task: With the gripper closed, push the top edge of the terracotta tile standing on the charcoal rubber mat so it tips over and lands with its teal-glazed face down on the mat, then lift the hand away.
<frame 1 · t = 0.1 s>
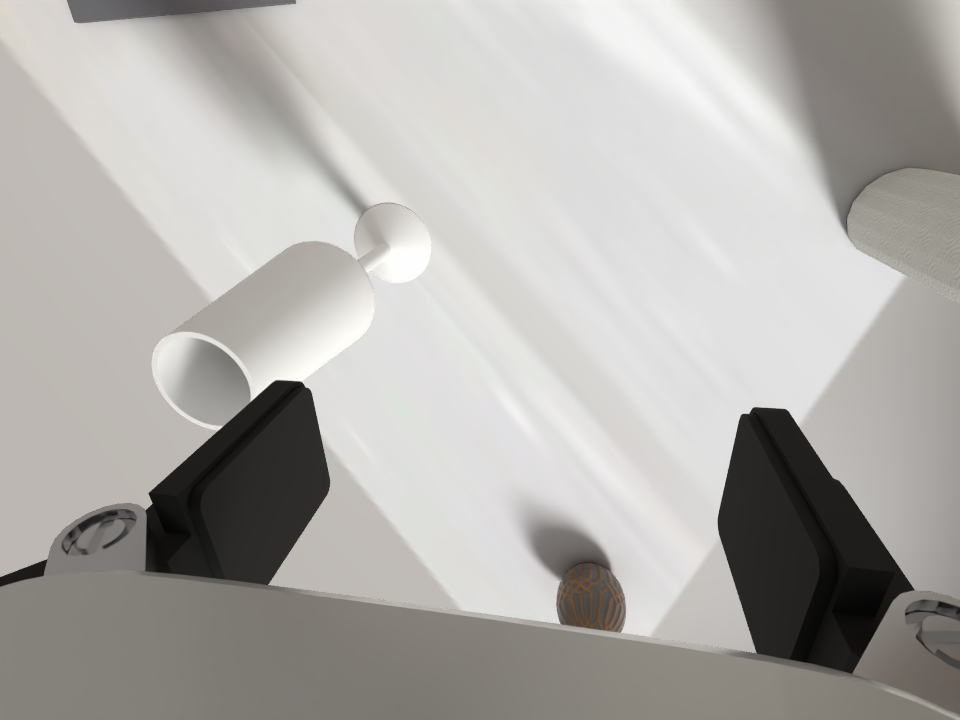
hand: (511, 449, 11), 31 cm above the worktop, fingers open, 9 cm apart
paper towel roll: (901, 215, 35), on the worktop
champagne flute: (393, 243, 43), on the worktop
patterned egg: (590, 574, 55), on the worktop
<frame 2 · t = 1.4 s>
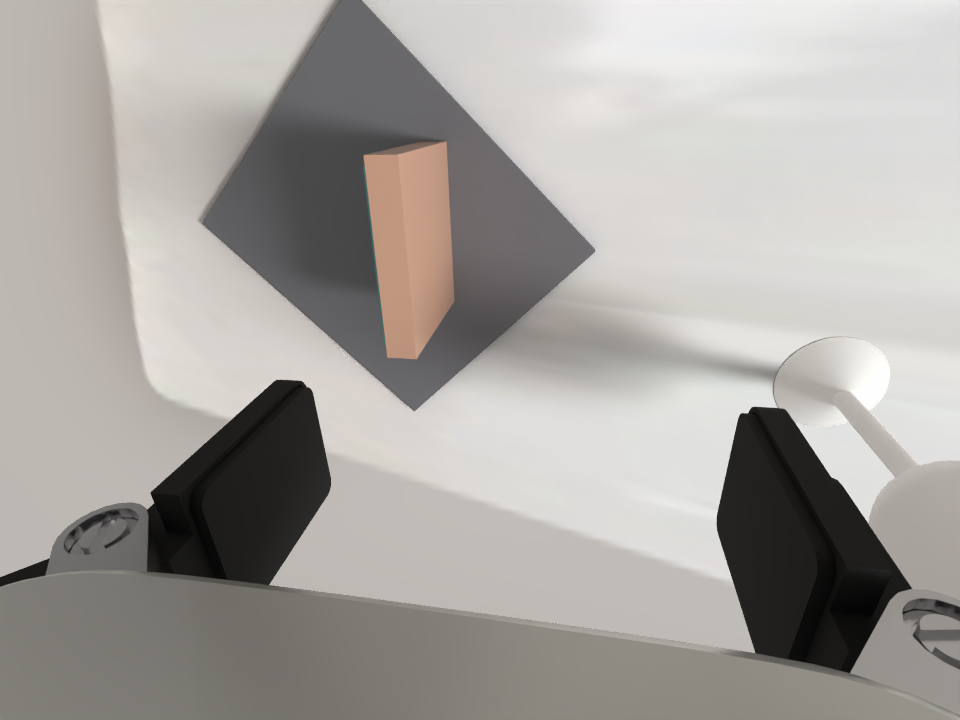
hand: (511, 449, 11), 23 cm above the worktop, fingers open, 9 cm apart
mat: (389, 235, 34), on the worktop
champagne flute: (828, 382, 33), on the worktop
tile: (438, 226, 33), resting on mat
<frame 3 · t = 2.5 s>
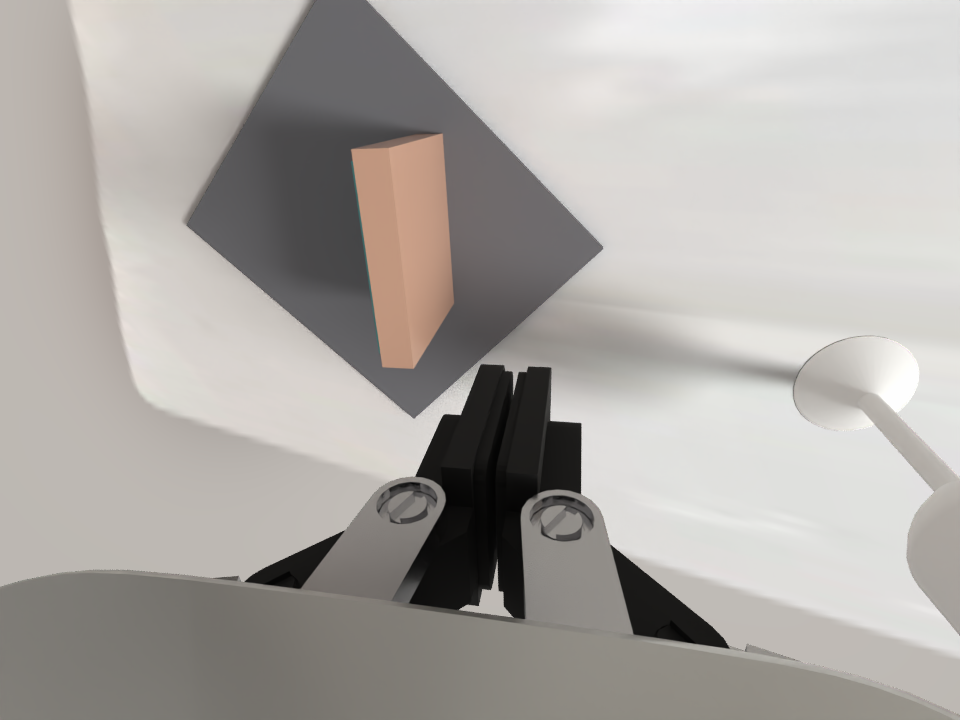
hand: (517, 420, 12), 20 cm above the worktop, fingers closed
mat: (384, 234, 32), on the worktop
champagne flute: (852, 384, 31), on the worktop
tile: (435, 224, 31), resting on mat
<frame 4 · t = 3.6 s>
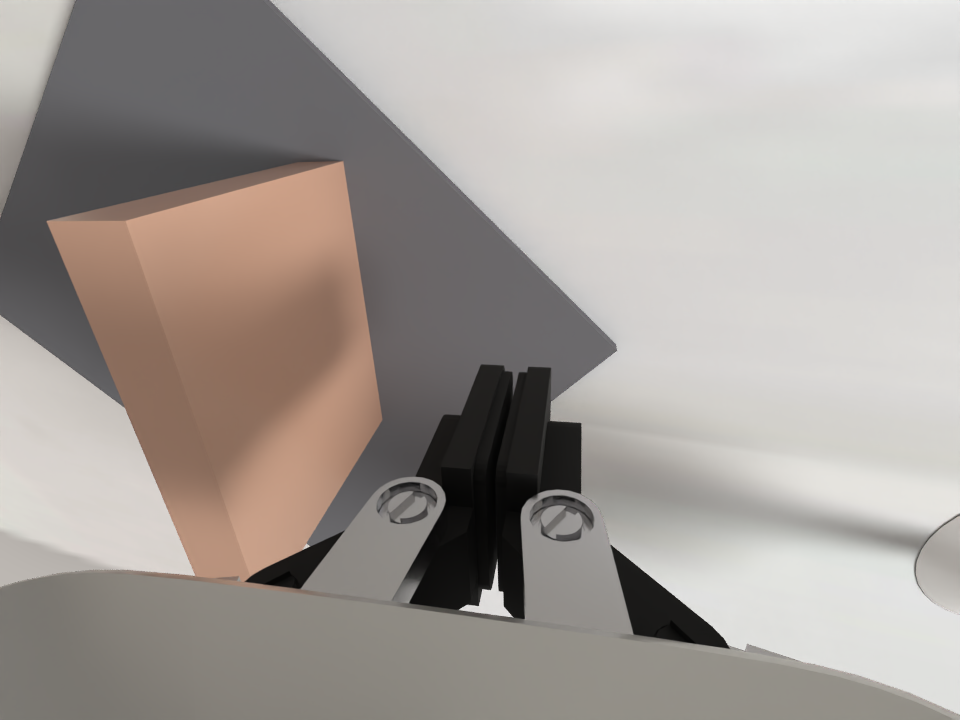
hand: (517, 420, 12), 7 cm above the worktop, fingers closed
mat: (269, 315, 20), on the worktop
tile: (344, 305, 19), resting on mat
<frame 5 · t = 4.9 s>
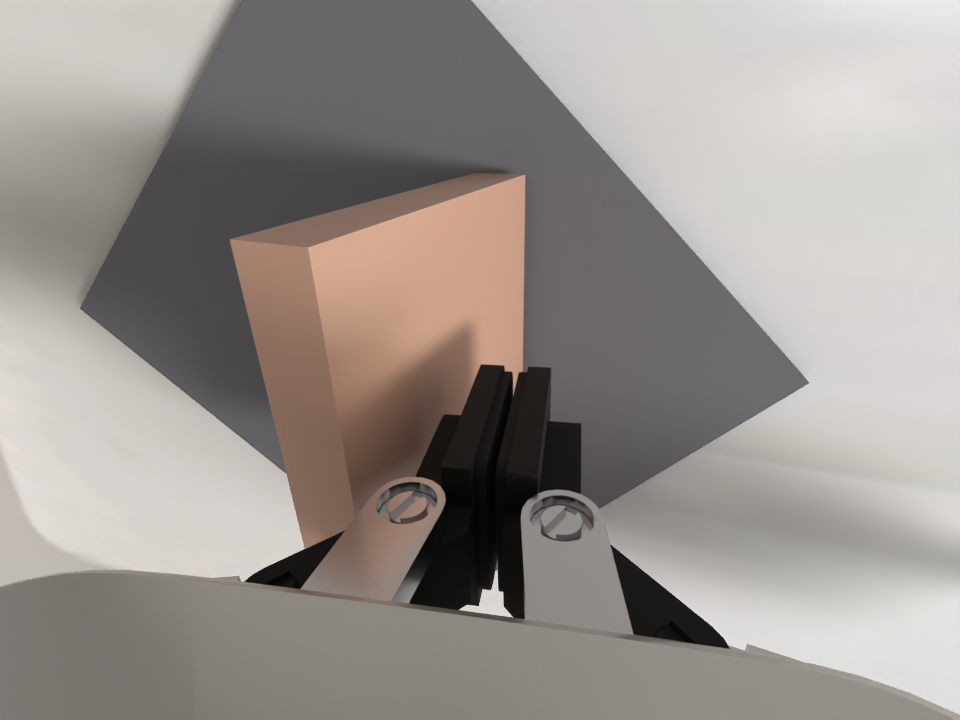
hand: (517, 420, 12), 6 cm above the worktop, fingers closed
mat: (409, 336, 19), on the worktop
tile: (501, 330, 17), point 1 cm above the worktop, tilted 15°, touching mat
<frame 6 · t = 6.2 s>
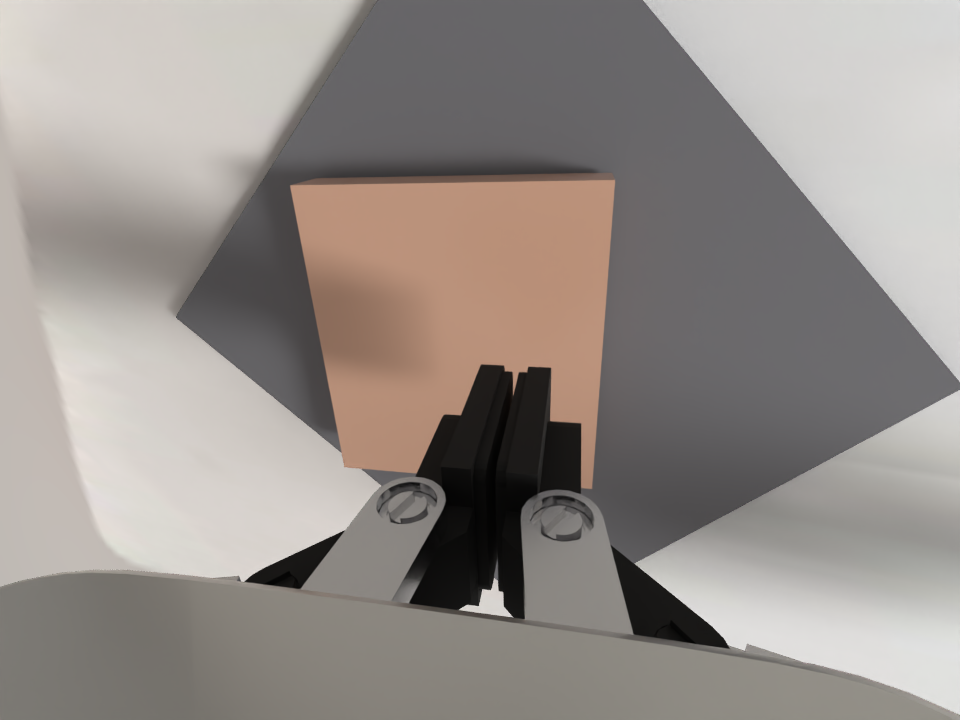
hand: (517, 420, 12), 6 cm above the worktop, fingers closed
mat: (525, 342, 18), on the worktop
tile: (601, 345, 16), point 2 cm above the worktop, tilted 90°, touching mat
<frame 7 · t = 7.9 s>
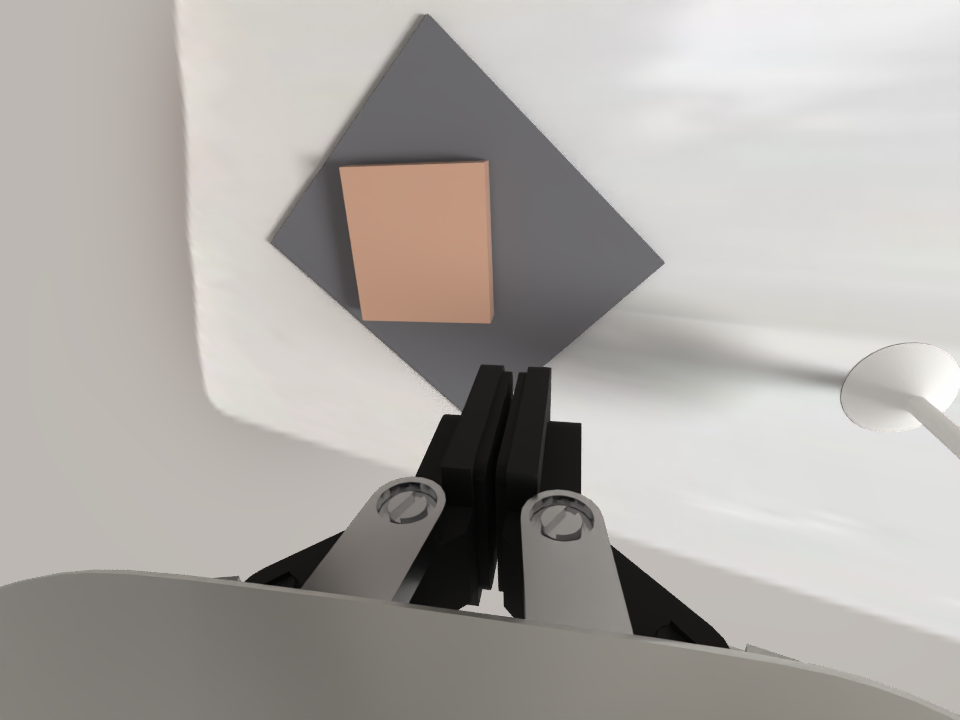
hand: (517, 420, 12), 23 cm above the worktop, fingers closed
mat: (457, 250, 35), on the worktop
champagne flute: (897, 388, 33), on the worktop
tile: (489, 245, 32), point 2 cm above the worktop, tilted 90°, touching mat
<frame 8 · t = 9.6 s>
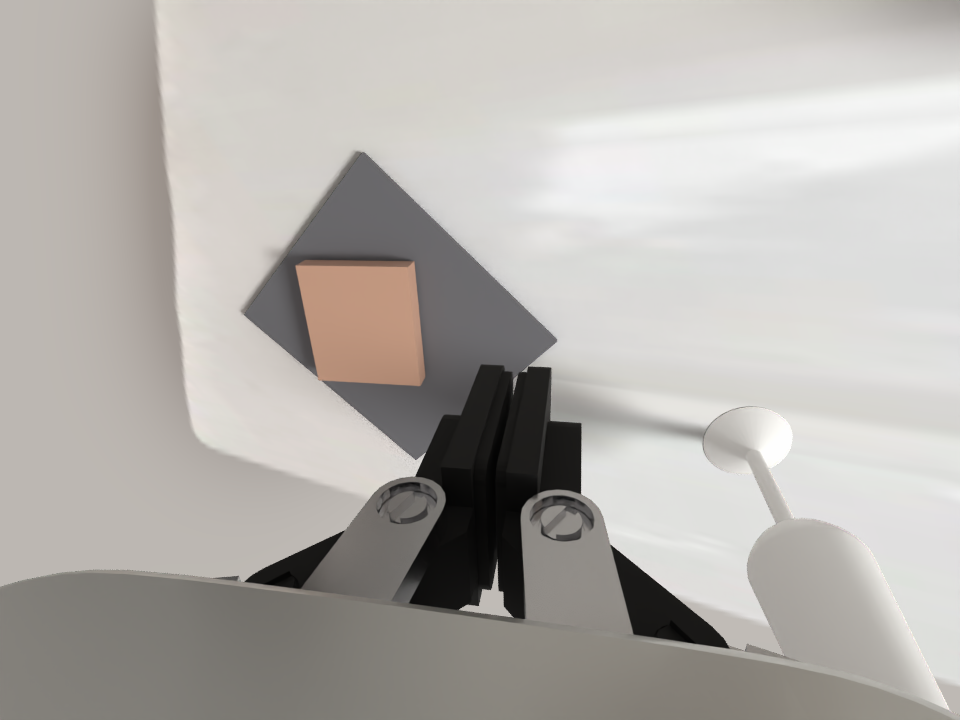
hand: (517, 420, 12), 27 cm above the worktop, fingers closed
mat: (394, 325, 43), on the worktop
champagne flute: (746, 440, 42), on the worktop
tile: (417, 325, 40), point 2 cm above the worktop, tilted 90°, touching mat
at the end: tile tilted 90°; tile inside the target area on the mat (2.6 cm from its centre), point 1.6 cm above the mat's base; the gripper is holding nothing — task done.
